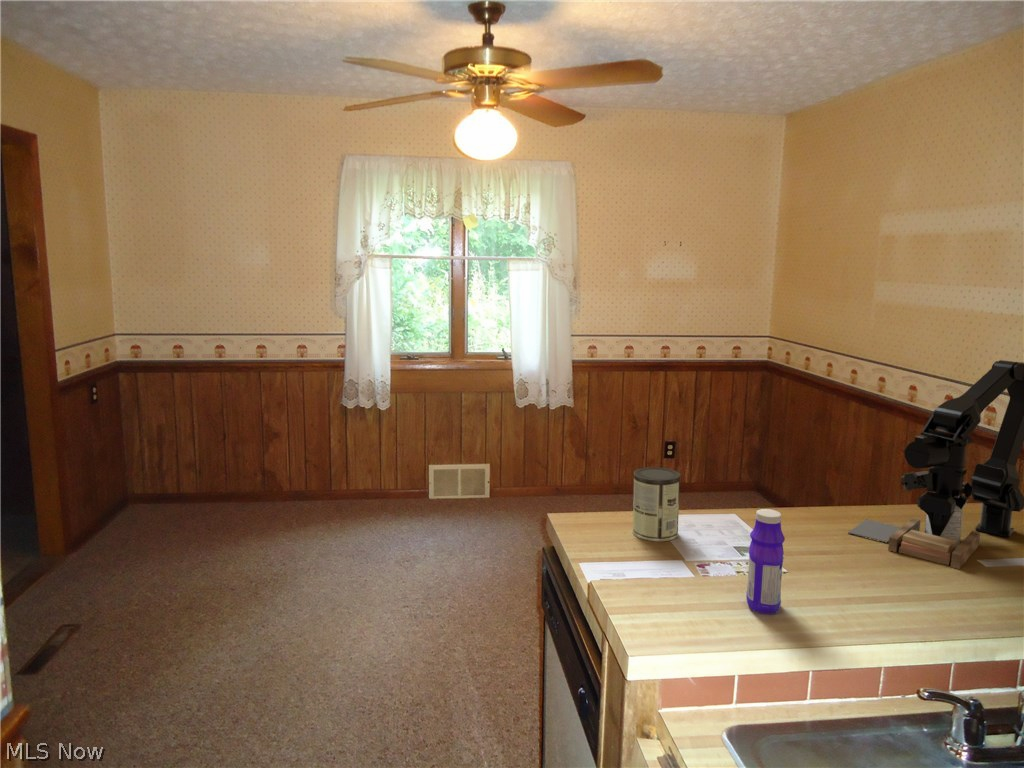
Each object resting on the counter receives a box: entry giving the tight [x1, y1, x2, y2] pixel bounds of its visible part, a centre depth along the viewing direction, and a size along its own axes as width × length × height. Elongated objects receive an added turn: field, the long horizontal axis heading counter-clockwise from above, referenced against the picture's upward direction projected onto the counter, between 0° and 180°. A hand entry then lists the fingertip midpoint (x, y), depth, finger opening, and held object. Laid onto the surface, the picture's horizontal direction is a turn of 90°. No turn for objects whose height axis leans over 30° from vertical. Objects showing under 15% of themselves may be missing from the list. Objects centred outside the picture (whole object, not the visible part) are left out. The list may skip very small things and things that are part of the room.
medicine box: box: [924, 506, 964, 549], centre depth 149 cm, size 8×4×9 cm, turn 167°
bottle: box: [745, 508, 786, 615], centre depth 119 cm, size 7×6×17 cm
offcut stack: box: [898, 530, 956, 566], centre depth 142 cm, size 6×9×4 cm
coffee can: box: [632, 466, 682, 543], centre depth 153 cm, size 10×10×14 cm
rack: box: [887, 517, 981, 570], centre depth 146 cm, size 17×13×3 cm
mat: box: [847, 518, 902, 544], centre depth 156 cm, size 12×8×1 cm, turn 135°
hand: (941, 532), depth 150 cm, fingers closed on medicine box, 9 cm apart
